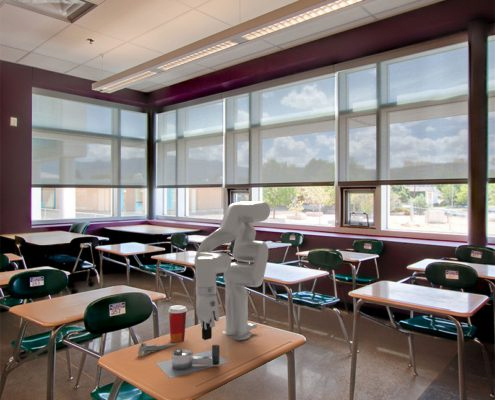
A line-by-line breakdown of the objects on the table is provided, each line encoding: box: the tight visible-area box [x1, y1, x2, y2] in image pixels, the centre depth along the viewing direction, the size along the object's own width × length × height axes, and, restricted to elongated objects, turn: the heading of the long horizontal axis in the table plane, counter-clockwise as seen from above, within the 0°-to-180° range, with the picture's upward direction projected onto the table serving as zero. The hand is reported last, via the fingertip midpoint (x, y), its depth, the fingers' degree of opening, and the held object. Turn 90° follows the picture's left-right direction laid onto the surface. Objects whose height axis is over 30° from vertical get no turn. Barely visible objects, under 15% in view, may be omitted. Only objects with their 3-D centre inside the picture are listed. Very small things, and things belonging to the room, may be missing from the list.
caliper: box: [137, 342, 179, 358], centre depth 145 cm, size 20×1×6 cm, turn 136°
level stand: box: [155, 349, 229, 379], centre depth 132 cm, size 22×13×2 cm, turn 123°
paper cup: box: [167, 304, 188, 344], centre depth 156 cm, size 8×8×14 cm
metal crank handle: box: [171, 344, 221, 370], centre depth 130 cm, size 16×7×7 cm, turn 90°
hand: (206, 338), depth 139 cm, fingers closed
